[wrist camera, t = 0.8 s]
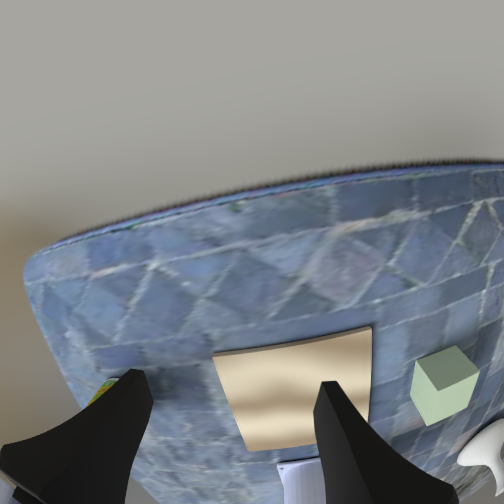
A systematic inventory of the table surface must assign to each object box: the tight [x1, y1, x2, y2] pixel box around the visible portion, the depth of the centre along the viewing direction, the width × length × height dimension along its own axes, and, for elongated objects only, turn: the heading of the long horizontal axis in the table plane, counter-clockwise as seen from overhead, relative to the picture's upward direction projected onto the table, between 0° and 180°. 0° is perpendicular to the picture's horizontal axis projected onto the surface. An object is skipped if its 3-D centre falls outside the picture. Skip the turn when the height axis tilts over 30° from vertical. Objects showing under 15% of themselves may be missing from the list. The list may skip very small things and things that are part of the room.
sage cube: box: [410, 345, 480, 426], centre depth 19 cm, size 5×5×5 cm
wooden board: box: [212, 326, 372, 451], centre depth 22 cm, size 14×13×1 cm
